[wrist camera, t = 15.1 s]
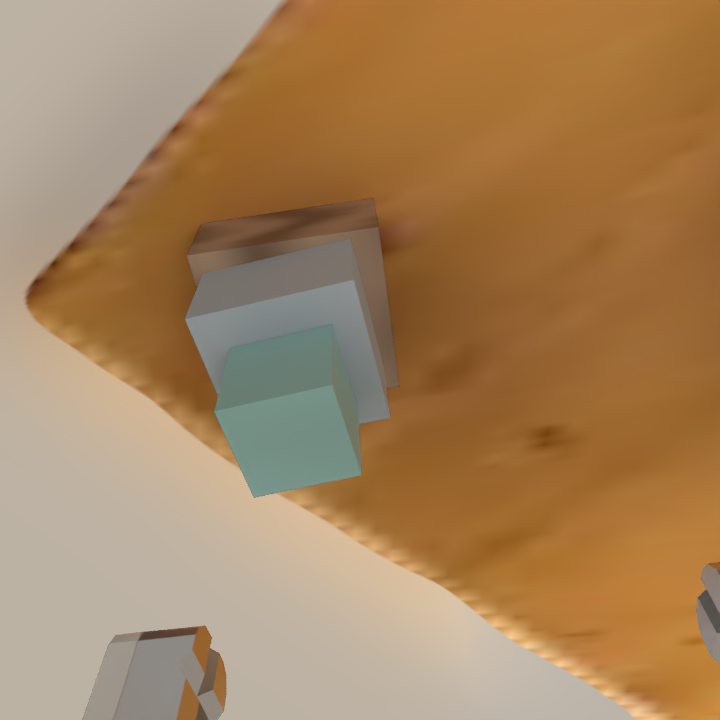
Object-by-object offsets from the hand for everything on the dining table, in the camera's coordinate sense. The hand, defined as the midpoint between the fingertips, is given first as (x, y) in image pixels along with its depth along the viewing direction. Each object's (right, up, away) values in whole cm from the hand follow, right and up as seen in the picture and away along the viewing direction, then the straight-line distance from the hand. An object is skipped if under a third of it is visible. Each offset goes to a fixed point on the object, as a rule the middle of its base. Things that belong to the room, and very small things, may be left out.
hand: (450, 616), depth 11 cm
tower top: (-5, +6, +25) cm, 26 cm away
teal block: (-5, +3, +21) cm, 22 cm away
